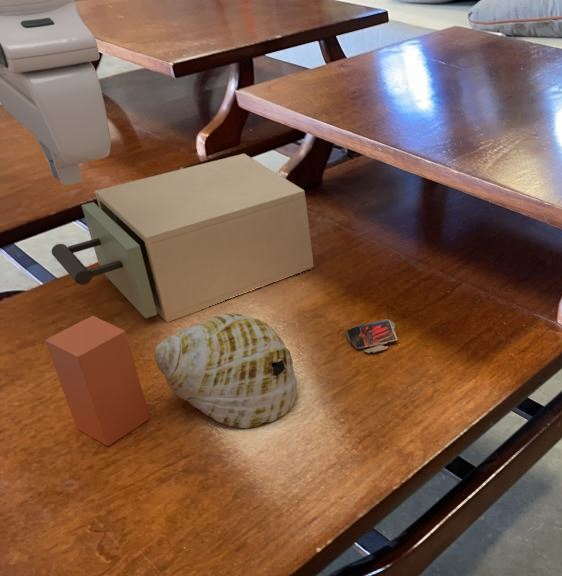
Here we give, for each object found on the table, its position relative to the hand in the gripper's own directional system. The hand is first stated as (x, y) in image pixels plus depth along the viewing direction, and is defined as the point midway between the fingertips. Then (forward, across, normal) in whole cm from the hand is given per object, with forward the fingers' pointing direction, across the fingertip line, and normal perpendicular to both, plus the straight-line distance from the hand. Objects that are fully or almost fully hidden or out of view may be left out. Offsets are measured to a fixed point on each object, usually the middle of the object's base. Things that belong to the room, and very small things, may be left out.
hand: (68, 179), depth 70 cm
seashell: (+14, +21, +3) cm, 26 cm away
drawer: (+13, 0, +7) cm, 15 cm away
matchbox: (+14, +22, +17) cm, 32 cm away
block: (+14, +18, -6) cm, 24 cm away
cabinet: (+14, 0, +12) cm, 18 cm away
